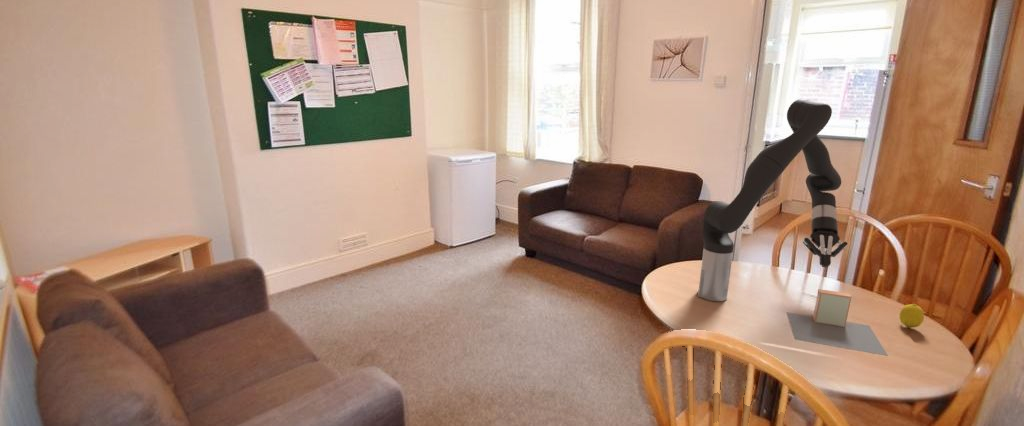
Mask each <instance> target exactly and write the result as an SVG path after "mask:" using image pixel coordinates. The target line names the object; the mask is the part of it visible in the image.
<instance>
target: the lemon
mask: <svg viewBox="0 0 1024 426" xmlns="http://www.w3.org/2000/svg"><path fill="white" fill-rule="evenodd" d="M924 319H925V314H924V310H923V309H922V307H920V306H919V305H917V304H916V303H911V304H910V303H908V304H906V305H904V306H903V307H902V308H901V309H900V312H899V321H900V322H901V324H903V325H904V326H905V327H907V329H912V328H917V327H919V326H921V324H923V322H924Z"/></svg>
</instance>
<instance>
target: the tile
mask: <svg viewBox="0 0 1024 426" xmlns="http://www.w3.org/2000/svg"><path fill="white" fill-rule="evenodd" d="M851 301H852V295H851V294H850V293H848V292H841V291H835V290H828V289H819V288H818V290H817V295H816V300H815V305H814V310H813V320H814V322H816V323H822V324H828V325H834V326H840V327H845V326H846V322H848V315H849V311H850V306H851Z"/></svg>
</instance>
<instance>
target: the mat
mask: <svg viewBox="0 0 1024 426" xmlns="http://www.w3.org/2000/svg"><path fill="white" fill-rule="evenodd" d="M786 314H787V319H788V321H789V325H790V328H791V331H792V334H793V335H792V336H793V337H794V340H797V341H803V342H807V343H813V344H818V345H824V346H831V347H836V348H840V349H841V348H842V349H846V350H853V351H858V352H864V353H871V354H877V355H880V356H886V357H888V356H889V355H888V353H887V352H886V350H885V349H884V347H883V345H882V343H881V342H880V340H879V339H878V337H877V335H876V334H875V332H874V330H873V329H872V328H871V326H870V325H868V324H865V323H864V324H863V323H857V322H856V323H855V322H849V321H846V326H845V327H840V326H834V325H828V324H822V323H816V322H814V320H813V316H812V315H806V314H800V313H793V312H788V311H786Z"/></svg>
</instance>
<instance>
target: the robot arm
mask: <svg viewBox="0 0 1024 426" xmlns="http://www.w3.org/2000/svg"><path fill="white" fill-rule="evenodd" d="M832 113H833V108H832V107H831V106H830V105H829V104H827V103H824V102H820V101H816V100H811V99H805V98H800V99H796V100H795V101H793V102H792V103H791V104H790V106H789V107H788V110H787V112H786V119H787V123H788V125H789V127H790V129H791V130H792V134H790V135H789V136H787V137H786V138H784V139H782V140H780V141H777V142H775V143H773V144H771V145H769V146H767V147H766V148H764V149H763V150H761V151H760V152H759V153H758V154H757V155H756V157H755V158H754V159H753V161H752V162H751V163H750V164H749V166H748V167H747V169H746V172H745V176H744V180H743V183H742V188H741V190H740V191H739V192H738V194H737V195H736V196H735V197H734V198H733V200H732V201H731V202H730V203H727V202H724V201H722V200H716V201H712V202H711V203H709V204H708V205H707V207H706V208H705V211H704V214H703V218H702V219H703V220H702V242H703V249H702V250H703V251H702V260H701V267H700V276H699V283H698V284H699V285H698V293H697V297H698V298H702V299H704V300H707V301H712V302H723V301H724V302H725V301H726V300H727V298H728V292H729V285H730V278H731V273H732V271H731V270H732V264H733V256H734V255H733V254H734V247H735V244H734V242H733V240H732V239H731V237H730V235H729V234H733V233H734V232H736V231H737V230H739V229H740V228H741V226H742V225H743V224H744V223H745V221H746V219H747V218H748V217H749V215H750V213H751V212H752V211H753V209H754V208H755V206H756V205H757V203H758V202H759V201H760V200H761V198H762V197H763V196H764V195H765V193H766V192H767V191H768V190H769V189H770V187H771V186H772V185H773V184H774V183H775V182H776V181H777V179H778V178H779V177H780V176H781V175H782V173H784V171H785V170H786V169H787V167H788V166H789V165H790V163H791V162H792V161H794V159H795V158H796V157H797V156H798V154H800V152H801V151H802V152H803V155H804V159H805V163H806V167H807V170H808V172H809V174H808V175H807V177H806V179H805V185H806V189H807V190H808V192H809V195H810V198H811V217H810V223H811V233H810V235H809V237H804V239H803V241H802V243H803V245H804V246H805V247H807V250H809V251H810V252H811V254H813V255H814V256H818V258H819V265H820V266H821V267H822V268H829V267H830V266H831V263H832V261H831V258H836V256H838V254H840V253H841V252H842V251H843V250H844V249H845V248H846V247H847V246H848V242H846V241H843V240H841V237H840V236H839V231H838V230H839V228H838V225H839V224H838V214H837V213H838V212H837V205H836V203H837V201H836V195H834V194H833V193H830V192H831V191H836V190H838V189H840V187H841V185H842V178H841V175H840V174H839V172H838V170H836V168H835V167H834V166H833V164H832V161H831V158H830V157H831V156H830V152H829V150H828V148H827V146H826V145H825V144H824V142H823V141H822V140H821V138H819V136H818V134H819V133H821V132H822V130H823V129H824V128H825V127H826V126H827V124H828V123H829V121H830V120H831V117H832ZM836 245H837V247H836V248H835V249H834V250H833V251H832V248H834V247H835V246H836Z"/></svg>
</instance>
